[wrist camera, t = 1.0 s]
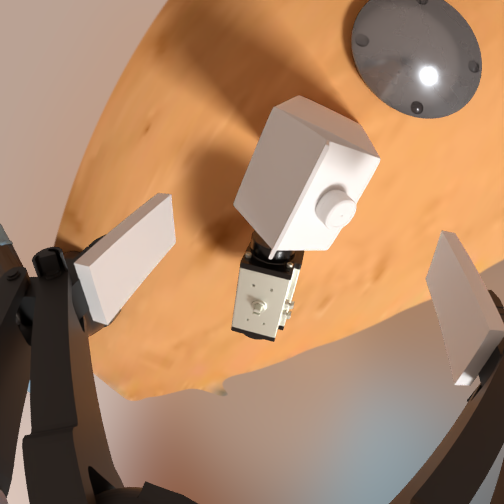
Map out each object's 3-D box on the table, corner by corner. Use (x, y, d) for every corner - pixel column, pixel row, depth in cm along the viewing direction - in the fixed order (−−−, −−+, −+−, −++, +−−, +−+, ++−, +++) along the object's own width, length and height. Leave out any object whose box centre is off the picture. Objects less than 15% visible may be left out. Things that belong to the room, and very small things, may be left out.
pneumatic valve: (253, 281, 43) (226, 346, 33) (267, 201, 37) (238, 255, 27) (293, 291, 43) (277, 360, 33) (314, 212, 36) (304, 271, 26)
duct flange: (347, 104, 29) (348, 105, 28) (351, -19, 22) (351, -23, 21) (470, 129, 26) (475, 131, 25) (477, 11, 19) (482, 10, 18)
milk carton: (272, 152, 34) (211, 232, 18) (298, 94, 30) (258, 113, 14) (331, 181, 34) (326, 286, 18) (361, 124, 30) (393, 180, 14)
